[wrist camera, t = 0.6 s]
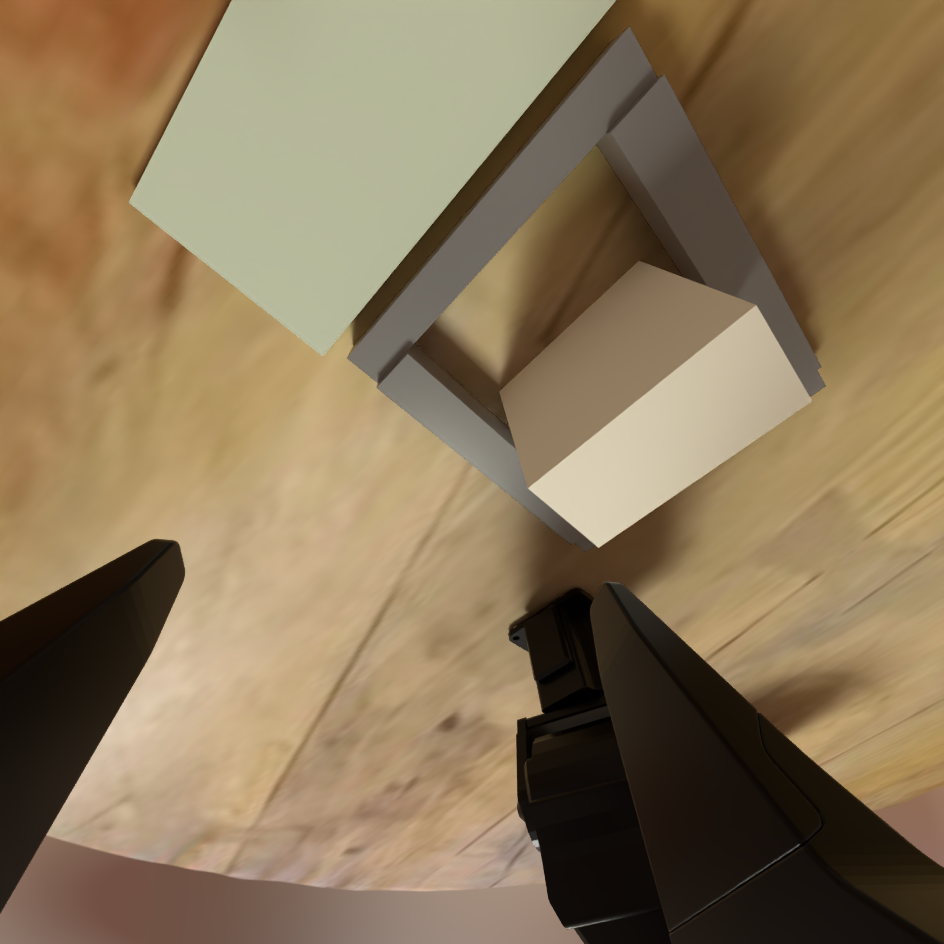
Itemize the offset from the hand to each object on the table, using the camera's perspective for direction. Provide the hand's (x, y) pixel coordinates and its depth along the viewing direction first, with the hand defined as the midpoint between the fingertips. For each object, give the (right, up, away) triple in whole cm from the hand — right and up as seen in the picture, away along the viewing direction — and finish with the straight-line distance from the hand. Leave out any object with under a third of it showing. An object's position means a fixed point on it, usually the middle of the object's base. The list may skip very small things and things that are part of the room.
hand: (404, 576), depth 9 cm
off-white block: (+7, +7, +11) cm, 15 cm away
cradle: (+7, +7, +11) cm, 15 cm away
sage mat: (-2, +15, +5) cm, 16 cm away
